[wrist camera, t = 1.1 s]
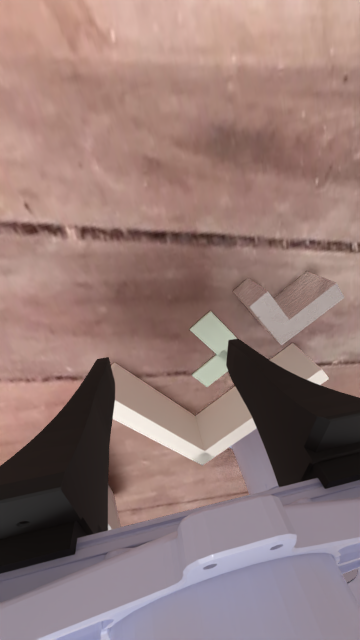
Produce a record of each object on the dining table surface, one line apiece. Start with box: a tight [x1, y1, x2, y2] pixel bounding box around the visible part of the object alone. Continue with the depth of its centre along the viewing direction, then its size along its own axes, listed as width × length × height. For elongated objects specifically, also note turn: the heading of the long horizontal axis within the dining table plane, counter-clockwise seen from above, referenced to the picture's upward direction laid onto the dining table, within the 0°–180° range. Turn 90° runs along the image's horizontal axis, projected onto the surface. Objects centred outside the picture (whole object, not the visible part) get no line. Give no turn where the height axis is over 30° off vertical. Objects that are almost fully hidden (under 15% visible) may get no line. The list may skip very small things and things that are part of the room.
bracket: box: [233, 271, 344, 345], centre depth 22 cm, size 7×6×4 cm
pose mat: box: [190, 311, 237, 387], centre depth 26 cm, size 8×7×1 cm
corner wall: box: [111, 343, 329, 465], centre depth 24 cm, size 16×18×5 cm
